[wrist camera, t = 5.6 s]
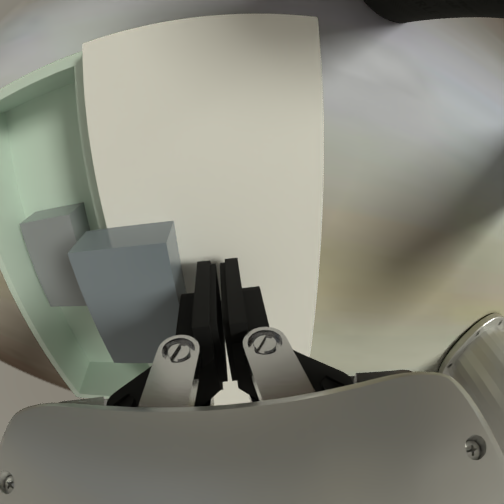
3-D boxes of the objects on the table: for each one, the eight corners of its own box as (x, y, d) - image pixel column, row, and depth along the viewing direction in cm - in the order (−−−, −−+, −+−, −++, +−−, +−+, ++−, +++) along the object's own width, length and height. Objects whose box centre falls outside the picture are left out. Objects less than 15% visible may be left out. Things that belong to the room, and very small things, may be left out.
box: (115, 61, 11) (85, 49, 8) (177, 362, 22) (174, 401, 18) (3, 106, 11) (-37, 112, 7) (87, 362, 21) (76, 397, 18)
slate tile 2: (19, 224, 12) (35, 211, 14) (50, 306, 15) (61, 289, 17) (69, 214, 13) (83, 202, 15) (98, 305, 16) (107, 287, 17)
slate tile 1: (173, 220, 11) (166, 242, 9) (195, 331, 14) (193, 361, 12) (86, 230, 11) (67, 253, 9) (122, 334, 14) (114, 362, 12)
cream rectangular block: (287, 42, 12) (317, 17, 8) (289, 350, 23) (303, 399, 18) (120, 60, 11) (82, 43, 7) (180, 361, 22) (178, 412, 18)
